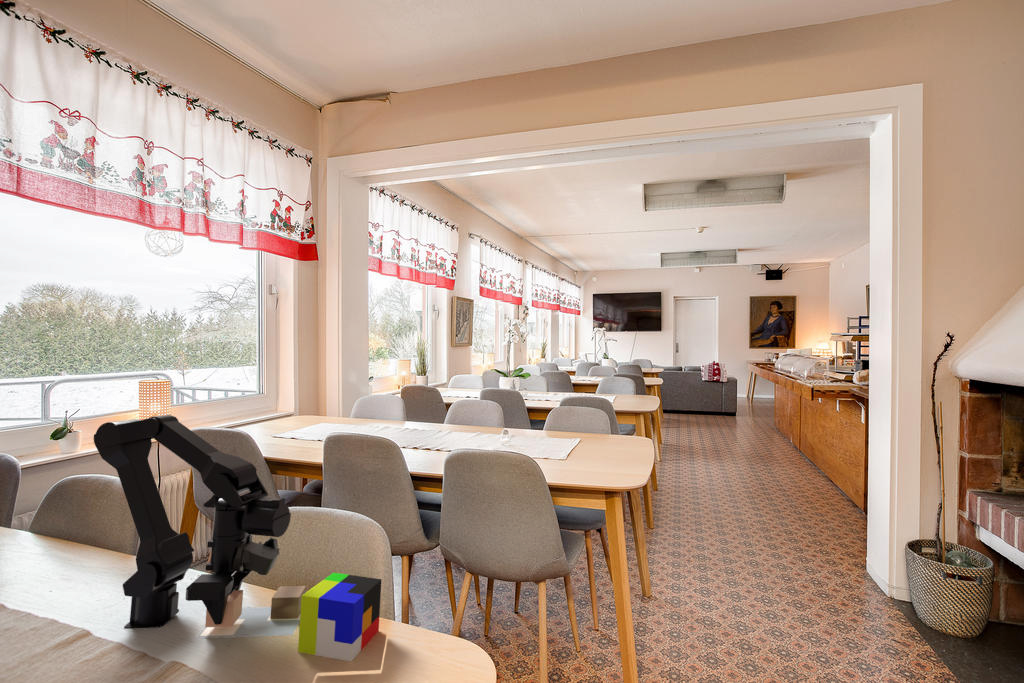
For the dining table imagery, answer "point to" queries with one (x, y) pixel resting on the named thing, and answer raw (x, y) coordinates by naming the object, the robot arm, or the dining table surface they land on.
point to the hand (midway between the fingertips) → (224, 617)
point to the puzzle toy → (339, 616)
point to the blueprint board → (253, 625)
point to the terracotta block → (229, 611)
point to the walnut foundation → (287, 602)
